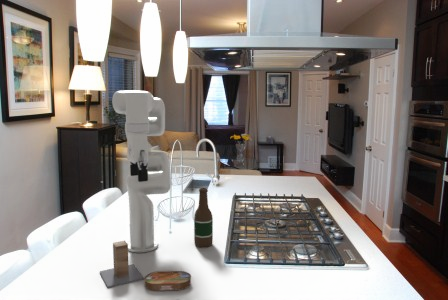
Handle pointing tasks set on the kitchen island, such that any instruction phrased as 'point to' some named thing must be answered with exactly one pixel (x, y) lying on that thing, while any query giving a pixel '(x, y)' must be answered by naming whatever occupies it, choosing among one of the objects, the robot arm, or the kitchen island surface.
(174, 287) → the tin
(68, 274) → the kitchen island surface
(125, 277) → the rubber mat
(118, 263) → the walnut block
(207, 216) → the beer bottle
